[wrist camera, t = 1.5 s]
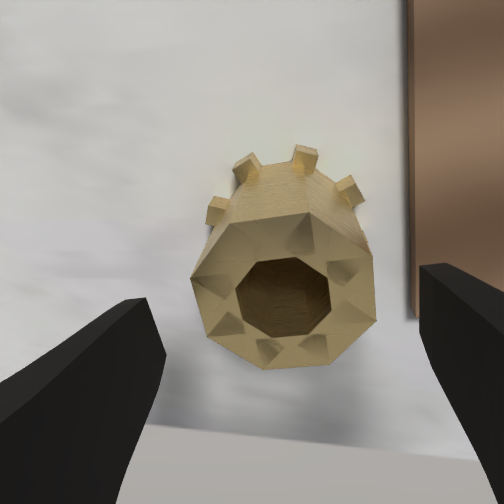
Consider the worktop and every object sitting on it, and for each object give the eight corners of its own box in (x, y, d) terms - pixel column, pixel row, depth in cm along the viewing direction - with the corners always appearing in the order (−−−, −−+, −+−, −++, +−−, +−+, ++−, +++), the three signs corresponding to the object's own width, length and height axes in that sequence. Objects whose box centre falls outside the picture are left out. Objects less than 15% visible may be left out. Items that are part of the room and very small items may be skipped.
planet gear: (366, 276, 17) (400, 374, 12) (230, 291, 18) (204, 388, 13) (355, 133, 14) (394, 175, 9) (198, 161, 15) (147, 213, 10)
